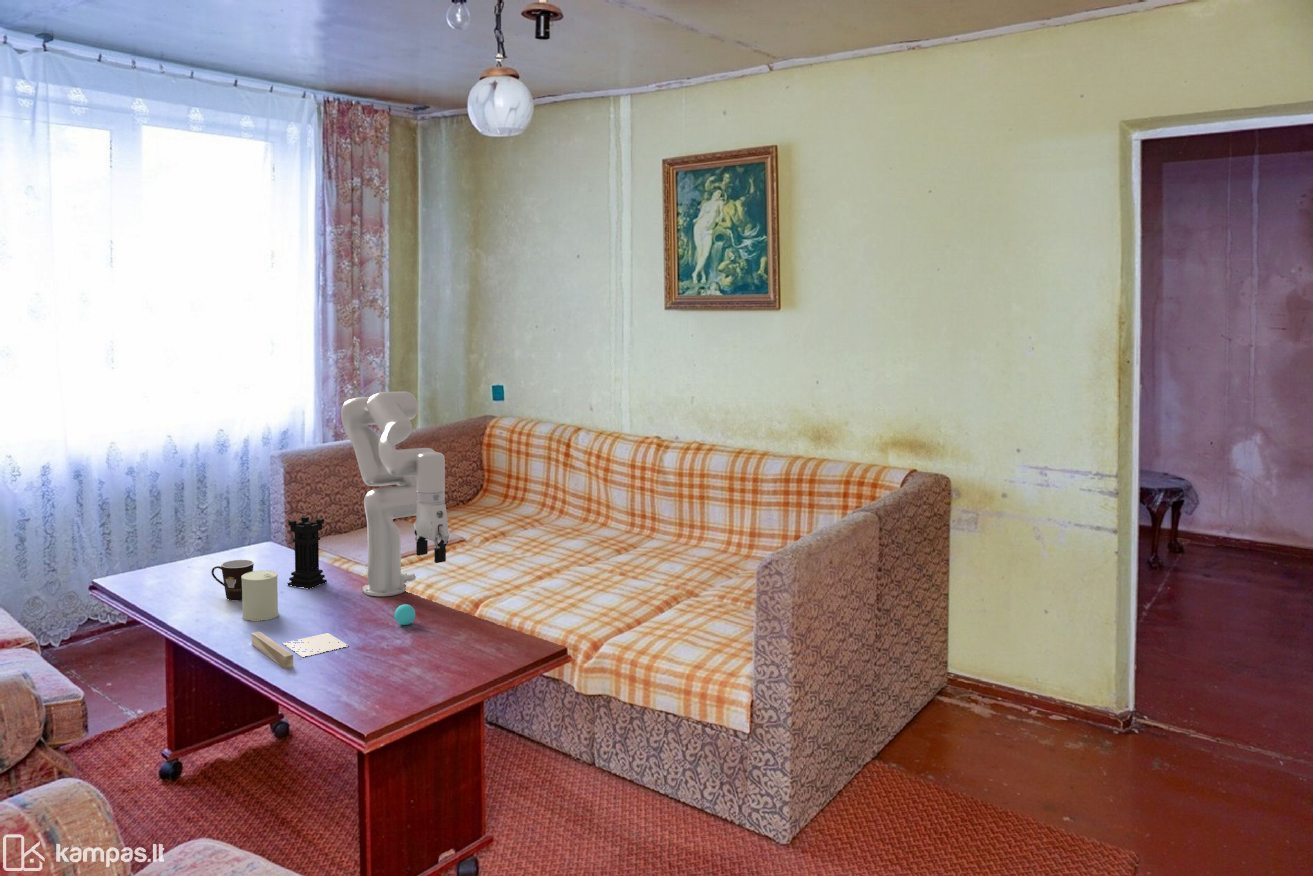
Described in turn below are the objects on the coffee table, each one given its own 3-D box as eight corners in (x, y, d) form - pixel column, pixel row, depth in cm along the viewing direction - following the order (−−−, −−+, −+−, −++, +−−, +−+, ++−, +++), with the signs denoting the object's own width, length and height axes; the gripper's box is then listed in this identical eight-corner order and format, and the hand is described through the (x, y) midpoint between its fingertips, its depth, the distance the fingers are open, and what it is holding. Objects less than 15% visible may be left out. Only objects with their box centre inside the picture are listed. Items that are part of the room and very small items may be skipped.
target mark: (327, 633, 243) (327, 632, 243) (349, 646, 234) (349, 645, 234) (282, 643, 235) (282, 643, 235) (302, 657, 226) (302, 657, 226)
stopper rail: (259, 643, 235) (259, 631, 234) (293, 666, 221) (293, 654, 220) (251, 644, 233) (251, 633, 233) (284, 668, 219) (284, 656, 219)
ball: (408, 619, 256) (408, 600, 255) (419, 625, 252) (419, 605, 251) (390, 623, 252) (390, 604, 251) (400, 629, 248) (400, 609, 247)
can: (265, 623, 249) (264, 579, 247) (234, 619, 251) (233, 576, 249) (285, 612, 258) (284, 570, 256) (255, 609, 260) (254, 567, 258)
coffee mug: (260, 596, 270) (260, 563, 269) (233, 603, 263) (232, 569, 262) (236, 588, 276) (236, 556, 275) (209, 595, 269) (208, 562, 268)
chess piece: (326, 582, 286) (326, 518, 283) (309, 589, 279) (308, 524, 276) (305, 578, 289) (304, 516, 286) (287, 585, 281) (286, 521, 278)
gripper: (459, 501, 250) (459, 562, 252) (427, 491, 262) (427, 550, 264) (434, 504, 245) (434, 567, 247) (402, 493, 257) (403, 554, 259)
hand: (430, 558), depth 256 cm, fingers open, 9 cm apart
